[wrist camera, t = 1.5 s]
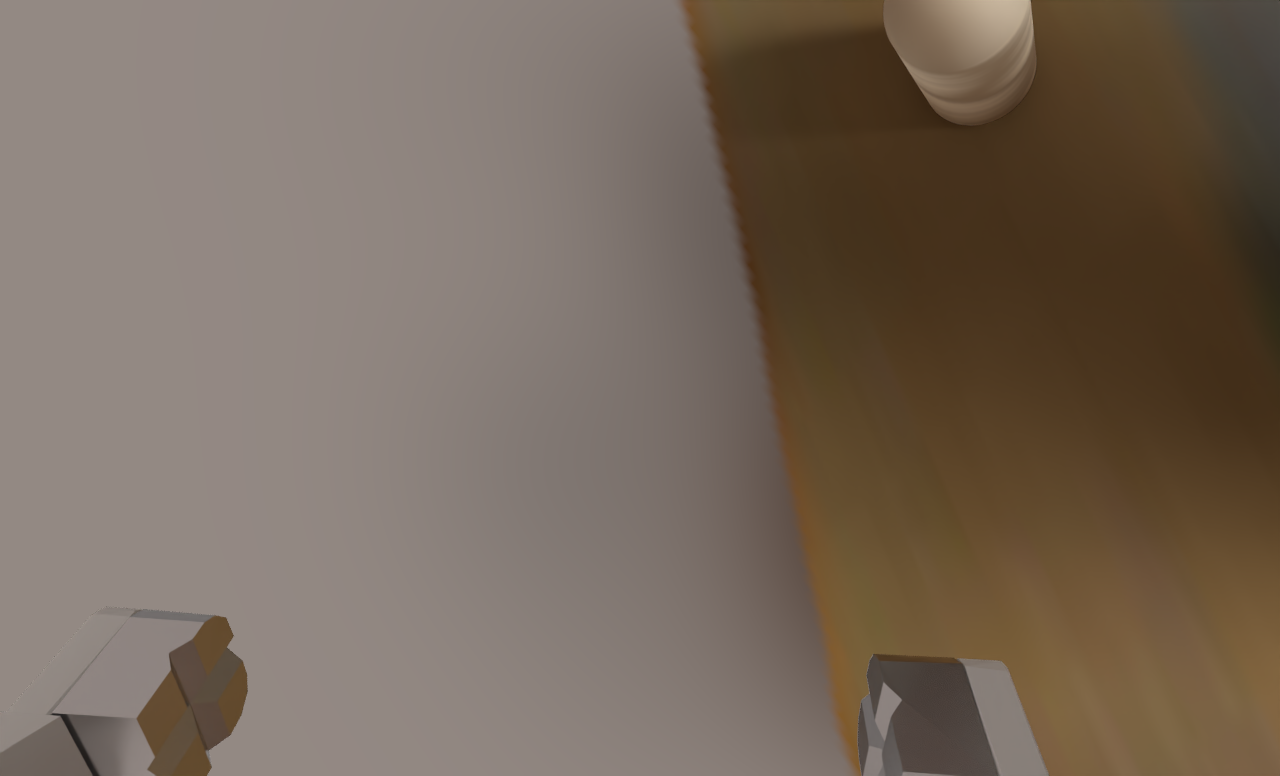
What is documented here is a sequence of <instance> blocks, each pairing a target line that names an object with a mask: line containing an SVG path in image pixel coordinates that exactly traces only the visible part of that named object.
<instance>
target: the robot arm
mask: <svg viewBox="0 0 1280 776" xmlns="http://www.w3.org/2000/svg"><path fill="white" fill-rule="evenodd" d="M233 636H234V635H233V633H232V631H231V628H230V626H229V623H228V621H227V619H226V618H225V617H220V616H215V615H204V614H192V613H180V612H170V611H158V610H147V609H143V610H142V609H128V608H117V607H105V608H103V609H101V610H99V611H97V612H95V613H93V614H92V615H91V616H90V617H89V618H88V619H87V620H86V622H85V623H84V624H83V625H82V626H81V627H80V628H79V630H78V631H77V632H76V633H75V634H74V635H73V636H72V638H71V639H70V640H69V641H68V642H67V643H66V644H65V646H64V647H63V648H62V649H61V650H60V651H59V652H58V654H57V655H56V656H55V657H54V658H53V659H52V660H51V662H50V663H49V664H48V665H47V666H46V667H45V668H44V670H43V671H42V672H41V673H40V674H39V675H38V676H37V678H36V679H35V680H34V681H33V682H32V683H31V684H30V686H29V687H28V688H27V689H26V690H25V691H24V692H23V694H22V695H21V696H20V697H19V698H18V699H17V701H16V702H15V703H14V704H13V705H12V706H11V707H10V708H9V710H8V711H7V712H2V711H1V712H0V776H207V774H208V773H209V771H210V769H211V768H212V766H211V759H210V754H209V750H210V749H211V748H213V747H214V746H216V745H217V744H219V743H220V742H221V741H223V740H224V739H226V738H227V737H229V736H230V735H231V733H232V731H233V729H234V727H235V726H236V724H237V722H238V720H239V718H240V716H241V714H242V710H243V706H244V702H245V699H246V695H247V691H248V690H247V673H246V670H245V667H244V664H243V661H242V660H241V659H240V658H239V657H237V656H236V655H235V654H234V653H233V652H232V651H230V650H229V649H228V648H227V646H228V644H229V642H230V641H231V639H232V638H233ZM866 676H867V681H868V687H869V692H870V694H869V695H867V696H866V697H865V698H863V699H862V700H861V705H860V712H859V718H858V752H859V762H860V769H861V775H862V776H1049V774H1048V771H1047V769H1046V766H1045V764H1044V761H1043V758H1042V756H1041V753H1040V751H1039V748H1038V745H1037V743H1036V740H1035V738H1034V735H1033V732H1032V730H1031V727H1030V725H1029V722H1028V719H1027V717H1026V714H1025V712H1024V709H1023V706H1022V704H1021V701H1020V699H1019V696H1018V693H1017V691H1016V688H1015V686H1014V683H1013V680H1012V678H1011V675H1010V673H1009V670H1008V668H1007V667H1006V666H1005V665H1004V664H1003V662H1002V661H995V660H977V659H955V658H948V657H927V656H906V655H886V654H873V656H872V657H871V659H870V661H869V666H868V670H867V675H866Z"/></svg>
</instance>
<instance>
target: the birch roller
mask: <svg viewBox="0 0 1280 776" xmlns="http://www.w3.org/2000/svg"><path fill="white" fill-rule="evenodd" d="M883 18H884V26H885V29H886V33H887V36H888V38H889V40H890V42H891V44H892V45H893V47H894V49H895V50H896V52H897V53H898V55H899V57H900V58H901V60H902V61H903V63H904V64H905V66H906V68H907V69H908V71H909V72H910V74H911V76H912V77H913V79H914V80H915V82H916V83H917V85H918V87H919V88H920V90H921V91H922V93H923V95H924V96H925V98H926V99H927V101H928V102H929V104H930V106H931V107H932V108H933V109H934V111H935V112H936V113H937V114H939V115H940V116H941V117H943V118H944V119H946V120H948V121H950V122H952V123H956V124H960V125H969V126H974V125H982V124H986V123H990V122H992V121H995V120H997V119H999V118H1001V117H1003V116H1005V115H1006V114H1008V113H1009V112H1010V111H1012V110H1013V109H1014V108H1015V107H1016V106H1017V105H1018V104H1019V103H1020V102H1021V101H1022V100H1023V98H1024V97H1025V96H1026V94H1027V92H1028V91H1029V89H1030V87H1031V85H1032V83H1033V80H1034V76H1035V72H1036V62H1037V59H1036V49H1035V40H1034V30H1033V20H1032V10H1031V0H884V7H883Z"/></svg>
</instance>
